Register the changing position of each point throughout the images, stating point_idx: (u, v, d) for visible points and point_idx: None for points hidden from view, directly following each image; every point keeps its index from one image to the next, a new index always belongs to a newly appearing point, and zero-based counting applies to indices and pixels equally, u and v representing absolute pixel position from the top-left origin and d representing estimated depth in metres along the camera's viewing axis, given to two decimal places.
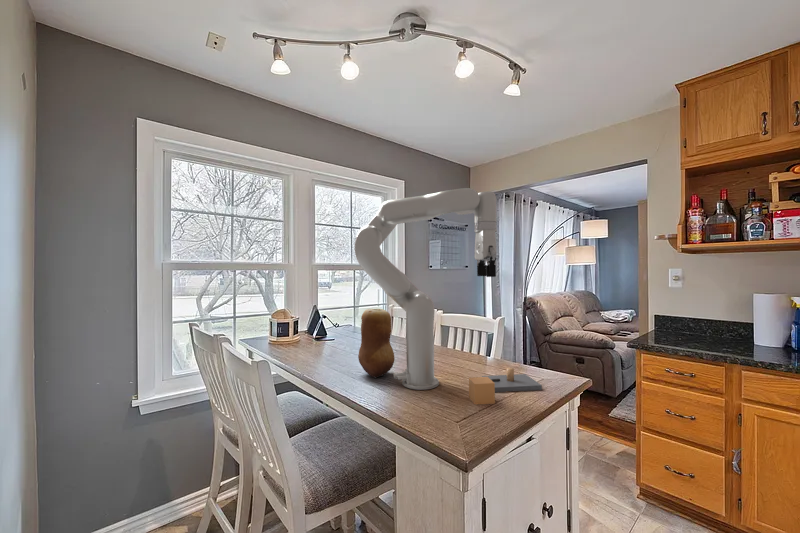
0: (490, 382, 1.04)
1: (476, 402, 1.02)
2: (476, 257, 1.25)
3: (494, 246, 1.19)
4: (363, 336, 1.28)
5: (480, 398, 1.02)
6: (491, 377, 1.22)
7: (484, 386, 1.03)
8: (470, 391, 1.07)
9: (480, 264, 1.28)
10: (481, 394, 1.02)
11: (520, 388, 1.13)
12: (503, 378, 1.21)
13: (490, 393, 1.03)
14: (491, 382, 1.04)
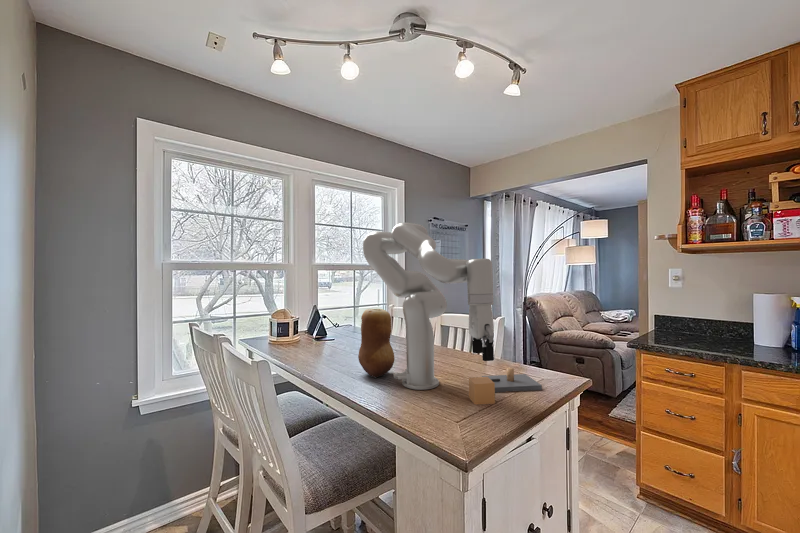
0: (490, 382, 1.04)
1: (476, 402, 1.02)
2: (470, 333, 1.07)
3: (491, 324, 1.01)
4: (363, 336, 1.28)
5: (480, 398, 1.02)
6: (491, 377, 1.22)
7: (484, 386, 1.03)
8: (470, 391, 1.07)
9: (475, 339, 1.10)
10: (481, 394, 1.02)
11: (520, 388, 1.13)
12: (503, 378, 1.21)
13: (490, 393, 1.03)
14: (491, 382, 1.04)
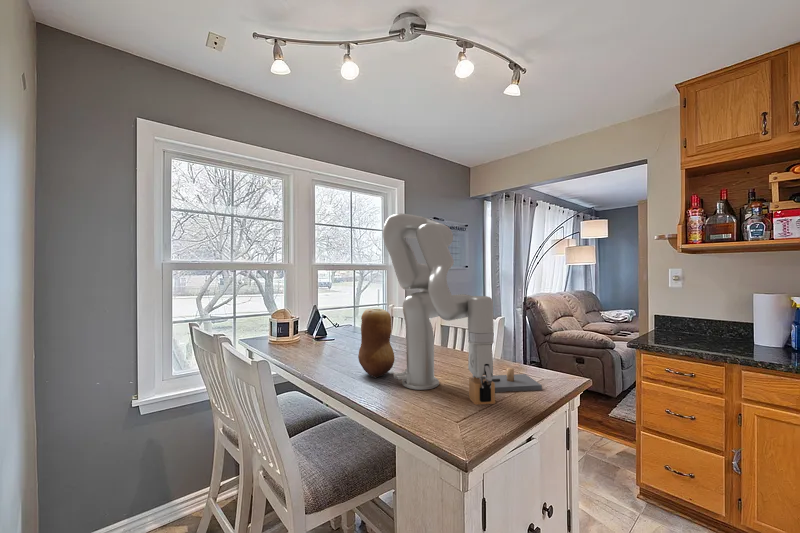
0: None
1: (476, 402, 1.02)
2: (470, 370, 1.07)
3: (491, 364, 1.01)
4: (363, 336, 1.28)
5: None
6: None
7: None
8: (470, 391, 1.07)
9: None
10: None
11: (520, 388, 1.13)
12: (503, 378, 1.21)
13: None
14: (491, 382, 1.04)
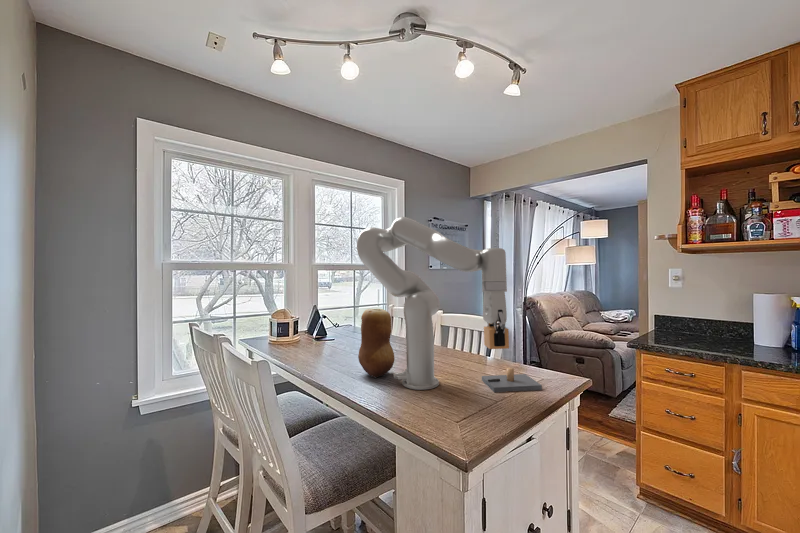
0: None
1: (491, 347, 1.08)
2: (485, 319, 1.13)
3: (504, 310, 1.07)
4: (363, 336, 1.28)
5: None
6: (491, 377, 1.22)
7: None
8: (485, 338, 1.13)
9: None
10: None
11: (520, 388, 1.13)
12: (503, 378, 1.21)
13: None
14: (505, 328, 1.09)
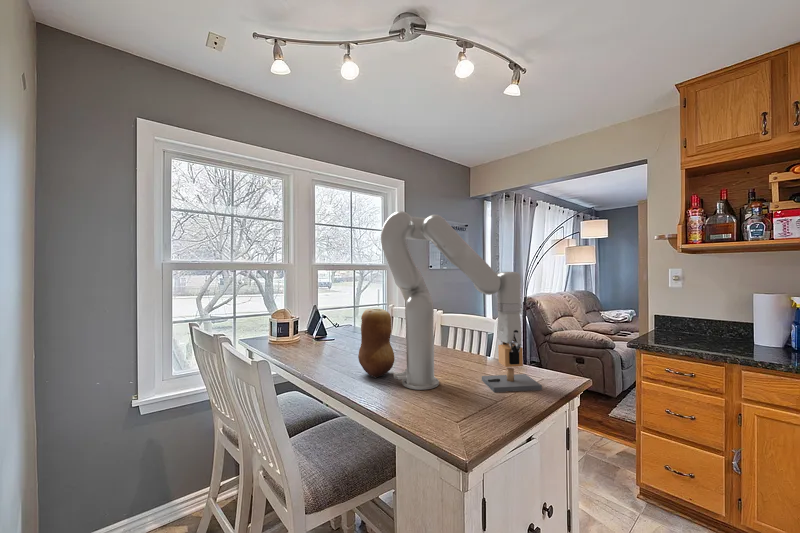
0: None
1: (506, 365, 1.16)
2: (499, 337, 1.20)
3: (519, 330, 1.14)
4: (363, 336, 1.28)
5: None
6: (491, 377, 1.22)
7: None
8: (500, 356, 1.20)
9: None
10: None
11: (520, 388, 1.13)
12: (503, 378, 1.21)
13: None
14: None
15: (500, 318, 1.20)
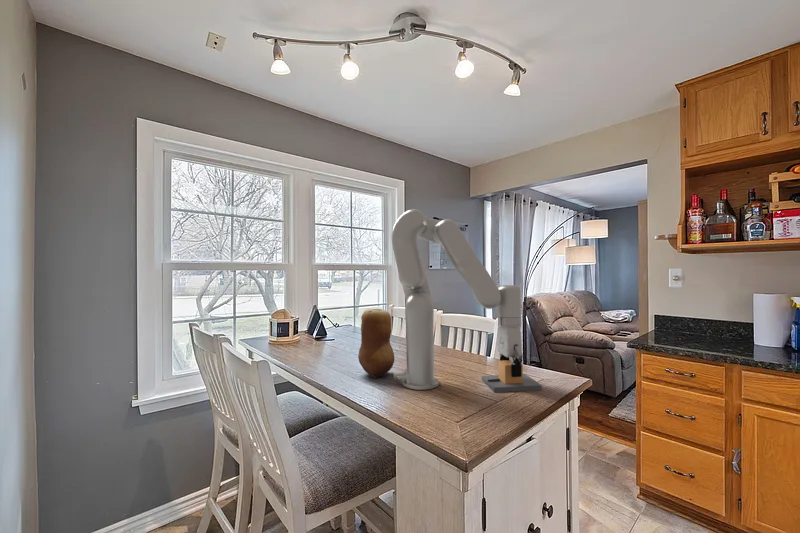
0: None
1: (506, 381, 1.16)
2: (499, 351, 1.20)
3: (519, 345, 1.14)
4: (363, 336, 1.28)
5: (510, 378, 1.16)
6: (491, 377, 1.22)
7: None
8: (500, 372, 1.20)
9: (503, 356, 1.23)
10: (510, 375, 1.16)
11: (520, 388, 1.13)
12: None
13: None
14: None
15: (500, 331, 1.19)
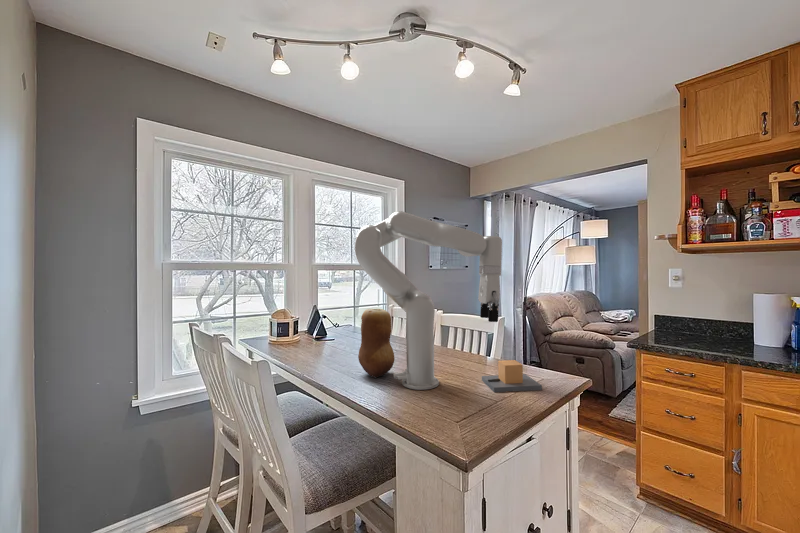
0: (518, 363, 1.17)
1: (506, 381, 1.16)
2: (480, 299, 1.26)
3: (497, 291, 1.19)
4: (363, 336, 1.28)
5: (510, 378, 1.16)
6: (491, 377, 1.22)
7: (513, 367, 1.16)
8: (500, 372, 1.20)
9: (484, 306, 1.29)
10: (510, 375, 1.16)
11: (520, 388, 1.13)
12: None
13: (518, 373, 1.16)
14: (519, 364, 1.17)
15: (481, 280, 1.25)
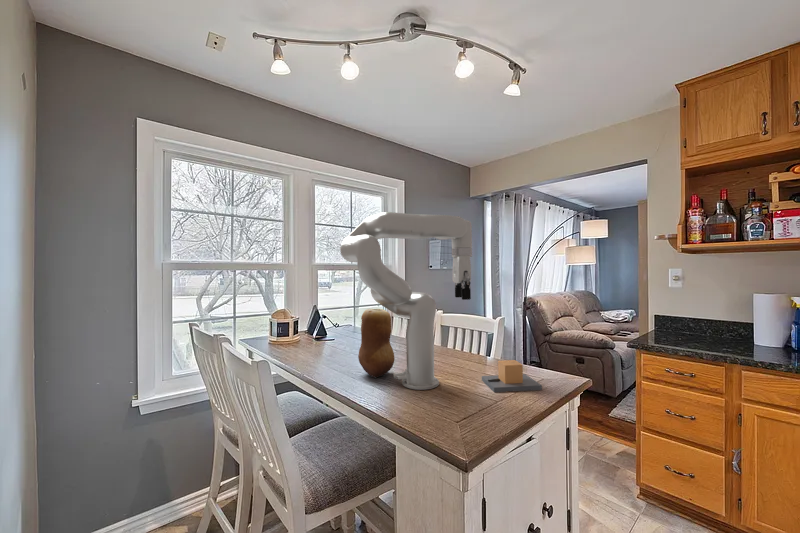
0: (518, 363, 1.17)
1: (506, 381, 1.16)
2: (453, 280, 1.34)
3: (469, 271, 1.28)
4: (363, 336, 1.28)
5: (510, 378, 1.16)
6: (491, 377, 1.22)
7: (513, 367, 1.16)
8: (500, 372, 1.20)
9: (458, 286, 1.37)
10: (510, 375, 1.16)
11: (520, 388, 1.13)
12: None
13: (518, 373, 1.16)
14: (519, 364, 1.17)
15: (454, 262, 1.33)
